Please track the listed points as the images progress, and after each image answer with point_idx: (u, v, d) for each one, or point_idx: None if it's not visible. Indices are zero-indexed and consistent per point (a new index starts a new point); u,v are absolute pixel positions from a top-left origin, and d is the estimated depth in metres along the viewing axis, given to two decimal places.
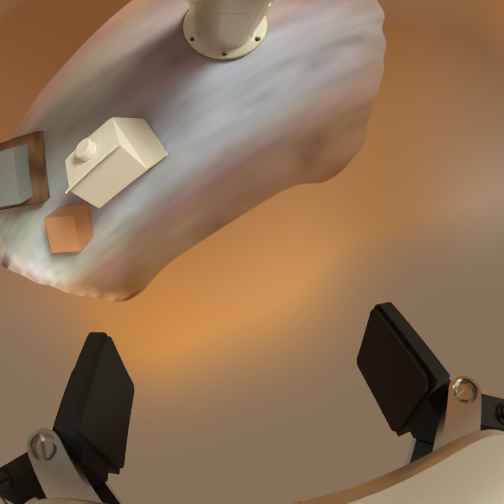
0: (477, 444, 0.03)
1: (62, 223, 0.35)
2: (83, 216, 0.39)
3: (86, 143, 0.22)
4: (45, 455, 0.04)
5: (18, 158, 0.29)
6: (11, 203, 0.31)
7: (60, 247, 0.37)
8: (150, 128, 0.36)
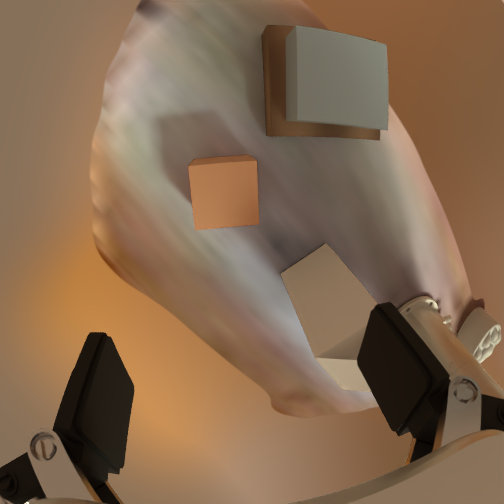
0: (477, 444, 0.03)
1: (245, 200, 0.25)
2: None
3: None
4: (45, 455, 0.04)
5: None
6: (300, 95, 0.20)
7: (200, 188, 0.24)
8: None
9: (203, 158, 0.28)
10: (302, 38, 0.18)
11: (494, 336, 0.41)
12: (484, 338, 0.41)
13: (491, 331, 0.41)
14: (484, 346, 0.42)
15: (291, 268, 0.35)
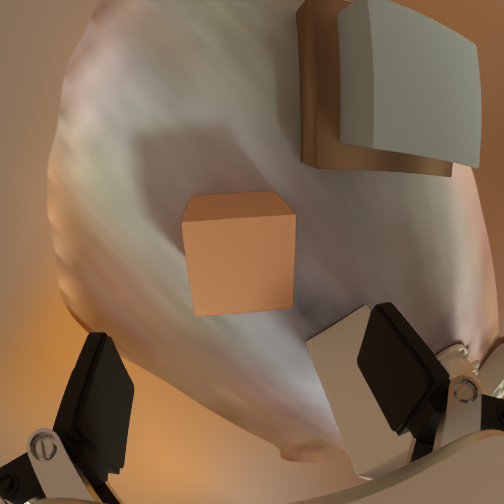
0: (477, 444, 0.03)
1: (274, 276, 0.16)
2: None
3: None
4: (45, 455, 0.04)
5: None
6: (378, 106, 0.11)
7: (201, 258, 0.15)
8: None
9: (205, 195, 0.19)
10: (377, 13, 0.09)
11: None
12: None
13: None
14: None
15: (320, 336, 0.26)
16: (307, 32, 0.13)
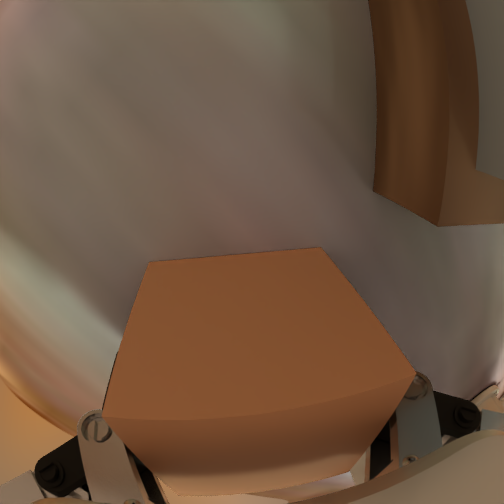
0: (477, 444, 0.03)
1: (330, 459, 0.06)
2: None
3: None
4: (96, 436, 0.05)
5: None
6: None
7: (174, 461, 0.05)
8: None
9: (178, 263, 0.09)
10: None
11: None
12: None
13: None
14: None
15: None
16: None
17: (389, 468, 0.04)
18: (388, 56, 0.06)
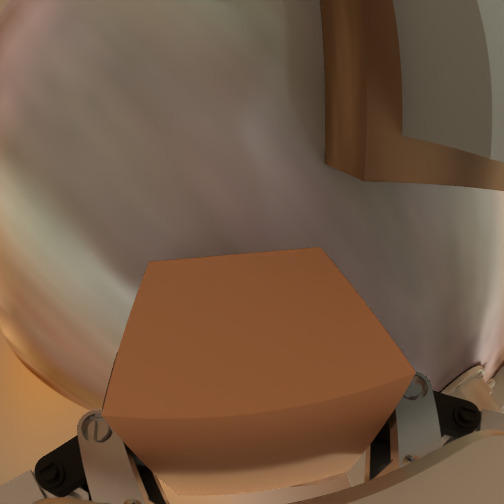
0: (477, 444, 0.03)
1: (330, 458, 0.06)
2: None
3: None
4: (96, 436, 0.05)
5: None
6: (494, 80, 0.04)
7: (174, 460, 0.05)
8: None
9: (178, 263, 0.09)
10: None
11: None
12: None
13: None
14: None
15: None
16: None
17: (389, 468, 0.04)
18: (331, 58, 0.09)
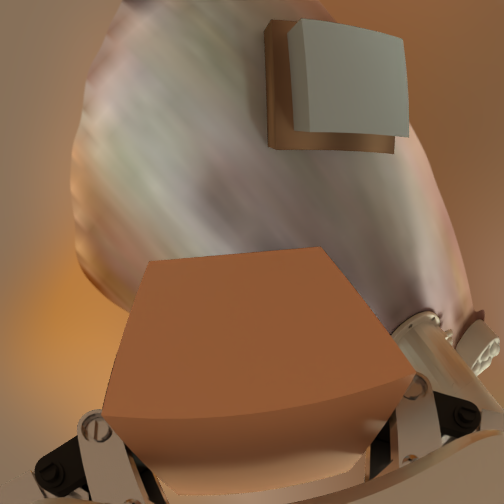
0: (477, 444, 0.03)
1: (330, 458, 0.06)
2: None
3: None
4: (96, 436, 0.05)
5: None
6: (311, 102, 0.17)
7: (173, 460, 0.05)
8: None
9: (178, 262, 0.09)
10: (310, 33, 0.15)
11: (493, 349, 0.40)
12: (483, 351, 0.40)
13: (491, 344, 0.40)
14: (483, 359, 0.41)
15: None
16: (269, 49, 0.19)
17: (389, 468, 0.04)
18: (268, 97, 0.22)
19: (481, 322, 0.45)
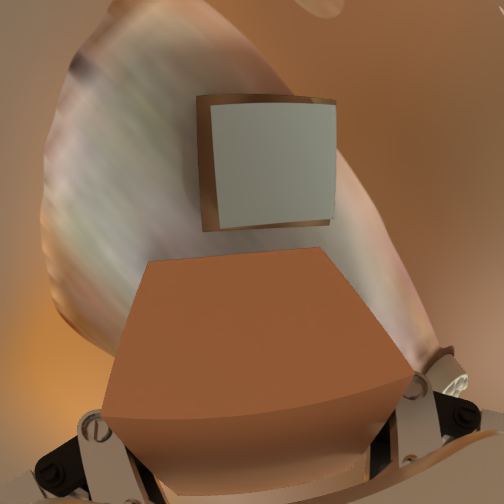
0: (477, 444, 0.03)
1: (330, 459, 0.06)
2: None
3: None
4: (96, 436, 0.05)
5: None
6: (220, 200, 0.20)
7: (173, 461, 0.05)
8: None
9: (177, 263, 0.09)
10: (219, 122, 0.17)
11: (459, 385, 0.43)
12: (448, 387, 0.43)
13: (456, 380, 0.43)
14: (447, 394, 0.43)
15: None
16: None
17: (389, 468, 0.04)
18: None
19: (449, 357, 0.48)
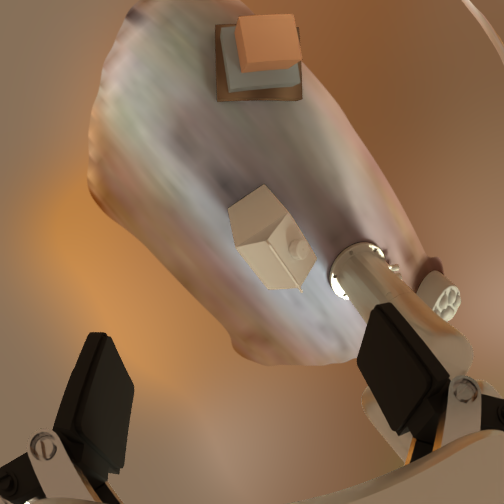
0: (477, 444, 0.03)
1: (288, 40, 0.23)
2: (282, 65, 0.27)
3: (305, 253, 0.30)
4: (45, 455, 0.04)
5: (283, 84, 0.31)
6: (230, 73, 0.29)
7: (249, 31, 0.22)
8: None
9: None
10: (226, 35, 0.27)
11: (451, 297, 0.51)
12: (440, 298, 0.52)
13: (448, 291, 0.52)
14: (441, 306, 0.52)
15: (236, 203, 0.43)
16: (215, 42, 0.31)
17: None
18: None
19: (438, 272, 0.56)
